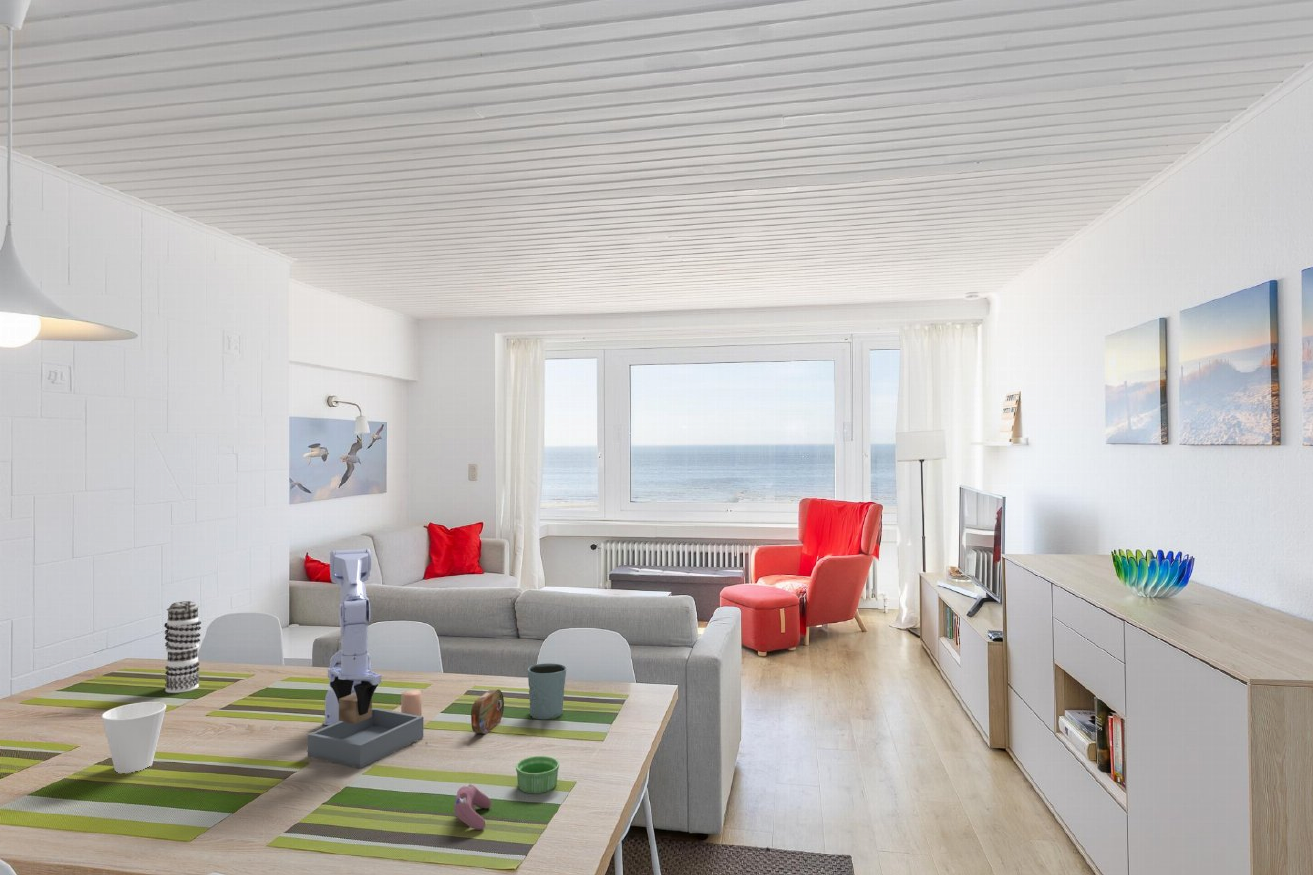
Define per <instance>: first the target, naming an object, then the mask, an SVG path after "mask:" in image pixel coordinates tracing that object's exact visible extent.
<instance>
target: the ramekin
mask: <svg viewBox="0 0 1313 875" xmlns="http://www.w3.org/2000/svg"><path fill="white" fill-rule="evenodd" d="M559 768H560V762H559V760H557V758H554V757H552V756H546V755H545V756H544V755H543V756H542V755H541V756H540V755H537V756H530V757H527V758H526V757H525V758H524V759H521V760H519V761H518V762H517V763H516V764H515V772H516V775H517V776H516V778H517V787H518V788H519V790H520V791H522V792H523V793H527V794H542V793H547V792H549V791H551V790H553V789H555V787H556V786H557V783H558V776H559V775H558V773H559Z"/></svg>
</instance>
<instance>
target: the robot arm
mask: <svg viewBox="0 0 1313 875" xmlns="http://www.w3.org/2000/svg"><path fill="white" fill-rule="evenodd" d="M329 555H330V556H329V573H330V580H331V583H334V584H335V585H338V586H339V587H338V588H339V590H340V604H339V608H338V610H339V612H338V614H339V619H338V621H339V626H340V635H341V638H340V643H341V644H340V649H339V650H338V651H336V652H335V653H334V654H332V656H331V658H330V659H329V668H328V669H327V678H329V682H328V683H329V685H328V686H329V689H328V690H327V692H326V695H325V699H324V721H322V725H324V726H325V725H326V726H330V725H332V724H334V723H337V722H339V699H340V698H342V697H345V696H348V695H351V694H353V693H356V696H357V701H358V713H359V715H363V714H366V713H368V709H369V705H370V701H371V698H372V699H373V695H374V693H375V692H376V690H377V687H378V686H379V684H382V674H380V673H376V672H375V671H372V667H371V666H372V665H371V664H372V663H371V662H372V661H371V654H370V653H369V652H368V651H369V649H368V648H369V646H368V645H369V644H368V643H369V640H368V638H369V637H368V636H369V633H368V632H369V630H368V629H369V625H370V621H371V603H370V599H369V597H367V588H366V585H365V582H367V581H368V580H369V577H370V576H371V575H370V574H371V570H372V551H371V550H370V548H368V547H367V548H362V549H361V548H360V549H341V550H340V549H339V550H336V549H332V550H331V551H330V553H329Z"/></svg>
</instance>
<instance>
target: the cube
mask: <svg viewBox="0 0 1313 875" xmlns="http://www.w3.org/2000/svg"><path fill="white" fill-rule="evenodd" d="M372 706H373V697H372V698H371V701H370V705H369V709H368V713H366V714H363V715H359V713H358V701H357V696H356V693H353V694H351V695H348V696H345V697H342V698H340V699H339V721H343V722H348V723H353V724H356V723H358V722H361V721H363V720H366V719H368V718H371V717H372V708H373V707H372Z"/></svg>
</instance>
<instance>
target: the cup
mask: <svg viewBox="0 0 1313 875" xmlns="http://www.w3.org/2000/svg"><path fill="white" fill-rule="evenodd" d="M166 709H167V705H166V704H165V703H164V702H158V701H145V702H135V703H130V704H124V705H119V706H117V707H114V708H110V709H108V710H107V711H105V712H103V713H102V714H101V719H102V724H103V727H104V730H105V731H104V732H105V735H106V739H107V744H108V748H109V752H110V756H111V759H112V764H113V768H114V772H115V771H116V772H118V773H117V774H122V773H125V774H132V773H131V772H133V773H136V772H135V771H138V772H141V771H144V770H146V769H145V768H147V767H149V766H150V767H152V766H153V763H154V758H155V754H156V750H157V745H158V743H159V737H160V733H161V729H162V725H163V722H164V716H165V713H166ZM150 767H149V768H150ZM143 769H144V770H143ZM147 769H148V768H147ZM140 770H141V771H140ZM116 772H115V773H116Z"/></svg>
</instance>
